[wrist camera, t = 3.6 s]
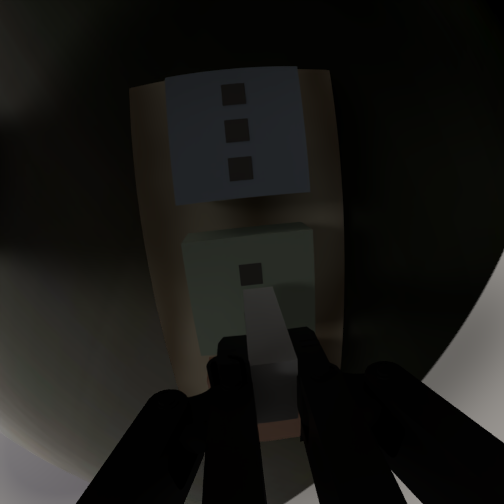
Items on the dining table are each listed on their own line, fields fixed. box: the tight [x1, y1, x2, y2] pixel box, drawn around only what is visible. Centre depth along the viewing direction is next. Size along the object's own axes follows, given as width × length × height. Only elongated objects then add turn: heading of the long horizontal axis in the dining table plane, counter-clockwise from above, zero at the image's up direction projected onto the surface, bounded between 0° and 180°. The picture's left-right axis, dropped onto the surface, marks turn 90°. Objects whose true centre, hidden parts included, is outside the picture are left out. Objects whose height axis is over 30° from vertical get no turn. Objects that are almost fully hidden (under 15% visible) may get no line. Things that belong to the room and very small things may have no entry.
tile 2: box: [181, 222, 315, 356], centre depth 18 cm, size 7×7×3 cm
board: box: [129, 69, 345, 397], centre depth 20 cm, size 14×28×3 cm, turn 5°
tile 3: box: [165, 66, 310, 206], centre depth 16 cm, size 7×7×3 cm
